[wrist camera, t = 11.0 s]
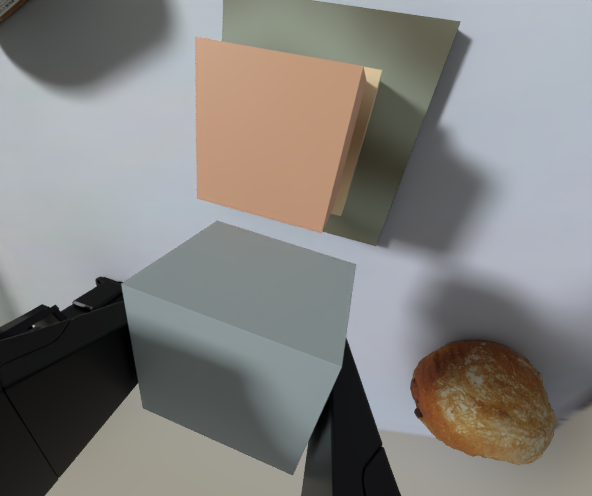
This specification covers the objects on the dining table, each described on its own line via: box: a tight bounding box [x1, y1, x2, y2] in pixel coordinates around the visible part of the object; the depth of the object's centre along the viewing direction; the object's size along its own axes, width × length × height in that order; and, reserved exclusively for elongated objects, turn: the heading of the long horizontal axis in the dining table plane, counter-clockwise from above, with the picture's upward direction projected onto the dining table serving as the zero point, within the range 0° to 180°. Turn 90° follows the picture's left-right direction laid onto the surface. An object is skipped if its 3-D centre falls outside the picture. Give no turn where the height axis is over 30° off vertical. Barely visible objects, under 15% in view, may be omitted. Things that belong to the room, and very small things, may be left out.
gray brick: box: [121, 221, 356, 475], centre depth 8 cm, size 5×5×4 cm
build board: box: [222, 0, 460, 246], centre depth 16 cm, size 13×13×5 cm
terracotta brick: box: [195, 37, 367, 233], centre depth 12 cm, size 6×6×4 cm
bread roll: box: [410, 340, 557, 465], centre depth 22 cm, size 10×10×8 cm
